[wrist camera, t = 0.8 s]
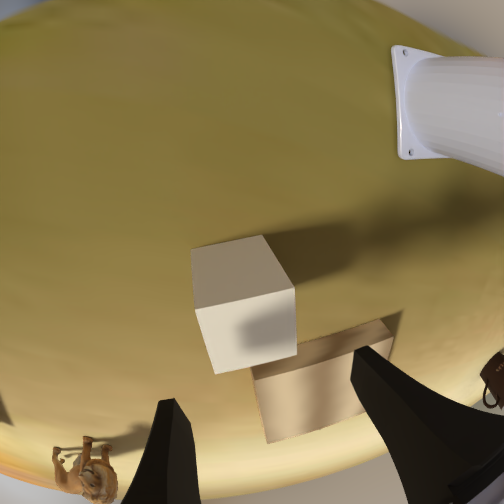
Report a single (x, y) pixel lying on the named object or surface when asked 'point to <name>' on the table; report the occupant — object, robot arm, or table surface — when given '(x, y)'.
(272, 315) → the white block
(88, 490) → the lion figurine
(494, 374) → the coffee mug
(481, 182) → the table surface
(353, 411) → the oak block
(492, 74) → the robot arm
